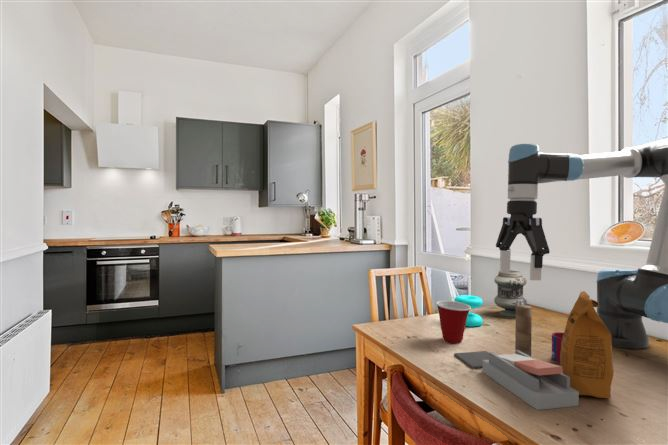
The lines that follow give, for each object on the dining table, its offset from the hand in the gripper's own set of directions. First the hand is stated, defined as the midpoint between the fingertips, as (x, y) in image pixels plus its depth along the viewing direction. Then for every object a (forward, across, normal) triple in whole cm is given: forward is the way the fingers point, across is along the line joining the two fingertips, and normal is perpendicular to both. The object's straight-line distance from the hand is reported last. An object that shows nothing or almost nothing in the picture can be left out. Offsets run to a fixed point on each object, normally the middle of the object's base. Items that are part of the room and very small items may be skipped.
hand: (519, 276), depth 108 cm
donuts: (+24, -35, +4) cm, 42 cm away
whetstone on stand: (+24, +17, -9) cm, 30 cm away
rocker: (+19, +17, -9) cm, 27 cm away
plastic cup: (+24, -17, -10) cm, 31 cm away
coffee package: (+23, +20, +4) cm, 31 cm away
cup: (+23, +4, +14) cm, 27 cm away
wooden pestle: (+23, +1, +1) cm, 23 cm away
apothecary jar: (+23, -44, +27) cm, 56 cm away
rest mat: (+24, 0, -11) cm, 26 cm away
